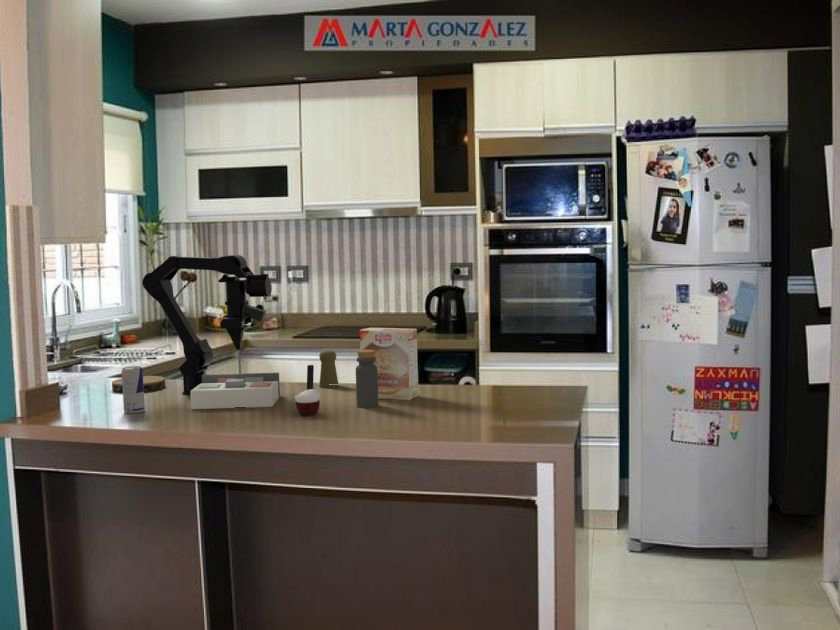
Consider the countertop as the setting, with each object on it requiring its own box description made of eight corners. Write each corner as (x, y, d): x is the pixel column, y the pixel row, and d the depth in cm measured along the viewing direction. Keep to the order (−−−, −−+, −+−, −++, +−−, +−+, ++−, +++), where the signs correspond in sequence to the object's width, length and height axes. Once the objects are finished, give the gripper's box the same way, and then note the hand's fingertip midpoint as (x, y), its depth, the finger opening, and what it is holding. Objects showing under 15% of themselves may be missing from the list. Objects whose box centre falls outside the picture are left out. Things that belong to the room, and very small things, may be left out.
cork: (340, 384, 260) (339, 349, 259) (336, 387, 254) (335, 351, 253) (321, 384, 261) (320, 349, 260) (317, 387, 255) (315, 352, 254)
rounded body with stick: (308, 419, 212) (307, 373, 210) (288, 417, 214) (286, 371, 213) (329, 410, 220) (327, 366, 218) (309, 408, 223) (308, 364, 221)
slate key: (225, 396, 230) (225, 381, 230) (229, 393, 235) (228, 379, 235) (242, 395, 231) (241, 381, 230) (245, 392, 235) (244, 378, 235)
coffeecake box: (360, 398, 237) (358, 329, 235) (371, 393, 243) (369, 327, 242) (409, 400, 231) (407, 330, 229) (419, 395, 238) (417, 327, 236)
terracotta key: (251, 400, 231) (250, 385, 230) (254, 397, 235) (253, 382, 235) (268, 399, 231) (267, 385, 231) (270, 396, 235) (269, 382, 235)
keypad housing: (191, 409, 227) (189, 383, 226) (203, 398, 242) (202, 374, 241) (272, 406, 227) (271, 381, 227) (280, 396, 242) (279, 372, 242)
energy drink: (149, 410, 227) (146, 366, 226) (136, 414, 222) (133, 369, 221) (132, 409, 229) (130, 366, 228) (119, 413, 224) (117, 369, 223)
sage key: (200, 401, 230) (199, 387, 230) (204, 398, 235) (203, 384, 235) (217, 401, 231) (216, 386, 230) (220, 398, 235) (220, 384, 235)
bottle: (382, 404, 227) (380, 349, 225) (372, 408, 221) (370, 352, 220) (363, 403, 229) (361, 349, 228) (352, 407, 224) (350, 351, 222)
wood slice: (162, 392, 256) (162, 382, 256) (108, 395, 253) (107, 385, 252) (167, 383, 271) (167, 374, 271) (116, 386, 268) (115, 377, 268)
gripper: (257, 298, 239) (259, 352, 240) (268, 294, 257) (270, 344, 259) (218, 299, 239) (221, 354, 240) (232, 295, 257) (234, 345, 259)
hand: (238, 349), depth 249 cm, fingers closed
